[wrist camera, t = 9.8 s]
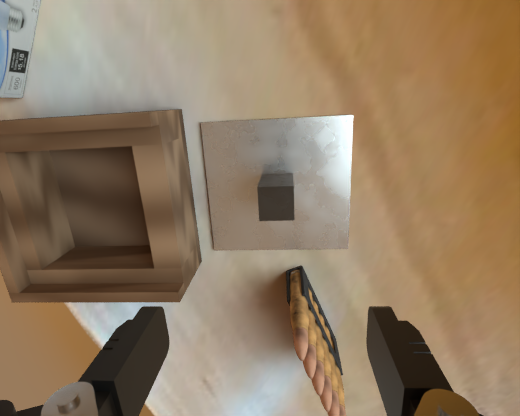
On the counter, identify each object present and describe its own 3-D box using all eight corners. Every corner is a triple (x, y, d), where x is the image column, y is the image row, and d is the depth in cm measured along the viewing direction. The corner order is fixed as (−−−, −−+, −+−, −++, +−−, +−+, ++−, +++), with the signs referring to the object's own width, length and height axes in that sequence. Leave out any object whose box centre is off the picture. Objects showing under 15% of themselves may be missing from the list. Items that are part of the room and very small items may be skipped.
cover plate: (203, 122, 31) (184, 126, 25) (351, 114, 29) (366, 117, 24) (216, 246, 35) (202, 274, 29) (346, 244, 34) (358, 273, 28)
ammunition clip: (336, 340, 37) (358, 447, 26) (321, 345, 37) (336, 452, 26) (301, 265, 34) (309, 346, 23) (285, 270, 35) (285, 353, 23)
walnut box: (24, 118, 31) (-52, 124, 24) (181, 109, 30) (148, 112, 23) (65, 263, 36) (12, 302, 29) (201, 261, 35) (179, 302, 28)
